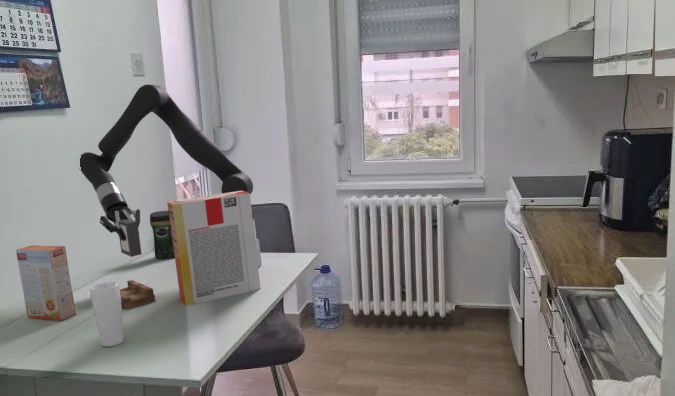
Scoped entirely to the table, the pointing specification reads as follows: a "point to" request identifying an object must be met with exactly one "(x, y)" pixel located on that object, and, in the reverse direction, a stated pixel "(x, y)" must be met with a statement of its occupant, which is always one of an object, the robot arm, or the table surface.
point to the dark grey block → (130, 238)
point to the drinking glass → (108, 312)
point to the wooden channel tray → (136, 295)
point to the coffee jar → (162, 234)
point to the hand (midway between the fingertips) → (130, 237)
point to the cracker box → (46, 282)
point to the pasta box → (214, 246)
